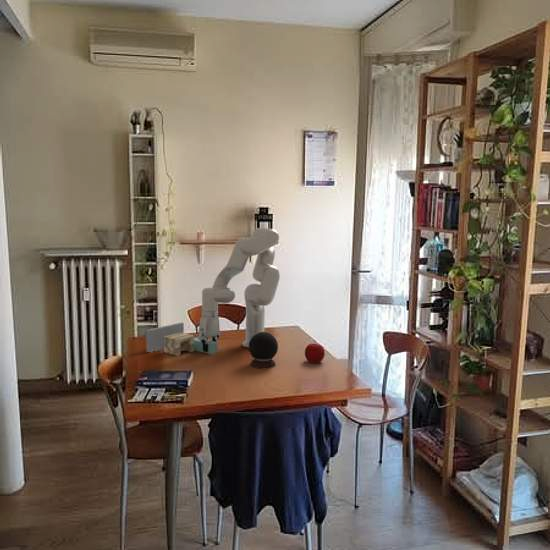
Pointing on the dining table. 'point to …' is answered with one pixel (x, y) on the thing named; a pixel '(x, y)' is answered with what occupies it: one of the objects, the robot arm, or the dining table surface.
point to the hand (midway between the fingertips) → (209, 349)
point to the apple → (314, 353)
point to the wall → (161, 336)
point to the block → (178, 343)
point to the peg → (211, 346)
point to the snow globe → (263, 349)
